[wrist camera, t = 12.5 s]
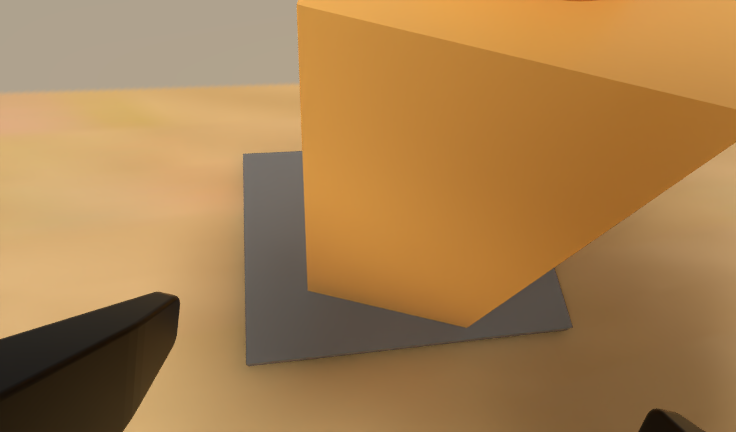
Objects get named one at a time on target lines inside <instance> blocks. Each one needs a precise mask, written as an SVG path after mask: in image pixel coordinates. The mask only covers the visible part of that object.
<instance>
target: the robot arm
mask: <svg viewBox="0 0 736 432" xmlns="http://www.w3.org/2000/svg"><path fill="white" fill-rule="evenodd" d="M179 309H180V301H179V298H178V297H177V296H175V295H171V294H167V293H162V292H153V293H150V294H147V295H144V296H140V297H137V298H134V299H130V300H127V301H124V302H121V303H117V304H114V305H111V306H108V307H104V308H101V309H98V310H94V311H91V312H88V313H85V314H81V315H78V316H75V317H71V318H68V319H65V320H62V321H58V322H55V323H52V324H48V325H45V326H42V327H39V328H35V329H32V330H29V331H26V332H22V333H19V334H16V335H12V336H9V337H6V338H3V339H0V432H123V431H124V429H125V428H126V426H127V425H128V423H129V422H130V420H131V419H132V417H133V416H134V414H135V412H136V411H137V409H138V407H139V406H140V404H141V402H142V400H143V399H144V397H145V395H146V393H147V391H148V390H149V388H150V386H151V384H152V383H153V381H154V379H155V377H156V376H157V374H158V372H159V370H160V369H161V367H162V365H163V363H164V362H165V360H166V358H167V356H168V354H169V353H170V351H171V349H172V347H173V345H174V343H175V340H176V336H177V328H178V318H179ZM638 432H705V431H703V430H702V429H700V428H699V427H697V426H696V425H694V424H693V423H691V422H690V421H689V420H687V419H686V418H684V417H683V416H681V415H680V414H678V413H675V412H671V411H667V410H662V409H657V408H656V409H652V410H651V411H650V412H649V413H648V414H647V416H646V418H645V420H644V422H643V424H642V426H641V428H640V430H639V431H638Z"/></svg>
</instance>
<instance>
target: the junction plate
mask: <svg viewBox="0 0 736 432" xmlns="http://www.w3.org/2000/svg"><path fill="white" fill-rule="evenodd" d="M243 180H244V249H245V317H246V365H247V366H254V365H263V364H272V363H280V362H289V361H298V360H307V359H316V358H324V357H333V356H342V355H351V354H360V353H368V352H377V351H386V350H395V349H404V348H412V347H421V346H430V345H439V344H448V343H456V342H465V341H474V340H483V339H492V338H501V337H509V336H518V335H527V334H536V333H545V332H553V331H562V330H567V329H570V328H572V323H571V320H570V317H569V314H568V310H567V307H566V304H565V301H564V297H563V294H562V291H561V288H560V284H559V281H558V278H557V275H556V271H555V268H553V269H551V270H550V271H549V272H547V273H546V274H544V275H543V276H541V277H540V278H538V279H537V280H535V281H534V282H533V283H531V284H530V285H528V286H527V287H525V288H524V289H522V290H521V291H520V292H518V293H517V294H515V295H514V296H512V297H511V298H509V299H508V300H507V301H505V302H504V303H502V304H501V305H499V306H498V307H496V308H495V309H494V310H492V311H491V312H489V313H488V314H486V315H485V316H483V317H482V318H480V319H479V320H478V321H476V322H475V323H473V324H472V325H470V326H469V327H467V328H465V327H461V326H456V325H452V324H448V323H444V322H439V321H435V320H431V319H426V318H422V317H418V316H414V315H409V314H405V313H401V312H397V311H392V310H388V309H384V308H379V307H375V306H371V305H367V304H362V303H358V302H354V301H350V300H345V299H341V298H337V297H332V296H328V295H324V294H320V293H315V292H311V291H308V286H307V260H306V234H305V207H304V181H303V155H302V151H295V152H273V153H252V154H243Z"/></svg>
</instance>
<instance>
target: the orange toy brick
mask: <svg viewBox="0 0 736 432" xmlns="http://www.w3.org/2000/svg"><path fill="white" fill-rule="evenodd" d="M297 25H298V48H299V49H298V50H299V75H300V76H299V77H300V103H301V129H302V155H303V181H304V207H305V234H306V260H307V286H308V291H311V292H315V293H320V294H324V295H328V296H332V297H337V298H341V299H345V300H350V301H354V302H358V303H362V304H367V305H371V306H375V307H379V308H384V309H388V310H392V311H397V312H401V313H405V314H409V315H414V316H418V317H422V318H426V319H431V320H435V321H439V322H444V323H448V324H452V325H456V326H461V327H465V328H467V327H469V326H470V325H472V324H473V323H475V322H476V321H478V320H479V319H480V318H482V317H483V316H485V315H486V314H488V313H489V312H491V311H492V310H494V309H495V308H496V307H498V306H499V305H501V304H502V303H504V302H505V301H507V300H508V299H509V298H511V297H512V296H514V295H515V294H517V293H518V292H520V291H521V290H522V289H524V288H525V287H527V286H528V285H530V284H531V283H533V282H534V281H535V280H537V279H538V278H540V277H541V276H543V275H544V274H546V273H547V272H549V271H550V270H551V269H553V268H554V267H556V266H557V265H559V264H560V263H562V262H563V261H564V260H566V259H567V258H569V257H570V256H572V255H573V254H575V253H576V252H577V251H579V250H580V249H582V248H583V247H585V246H586V245H588V244H589V243H591V242H592V241H593V240H595V239H596V238H598V237H599V236H601V235H602V234H604V233H605V232H606V231H608V230H609V229H611V228H612V227H614V226H615V225H617V224H618V223H619V222H621V221H622V220H624V219H625V218H627V217H628V216H630V215H631V214H632V213H634V212H635V211H637V210H638V209H640V208H641V207H643V206H644V205H646V204H647V203H648V202H650V201H651V200H653V199H654V198H656V197H657V196H659V195H660V194H661V193H663V192H664V191H666V190H667V189H669V188H670V187H672V186H673V185H674V184H676V183H677V182H679V181H680V180H682V179H683V178H685V177H686V176H687V175H689V174H690V173H692V172H693V171H695V170H696V169H698V168H699V167H701V166H702V165H703V164H705V163H706V162H708V161H709V160H711V159H712V158H714V157H715V156H716V155H718V154H719V153H721V152H722V151H724V150H725V149H727V148H728V147H729V146H731V145H732V144H734V143H735V142H736V0H298V2H297Z"/></svg>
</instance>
